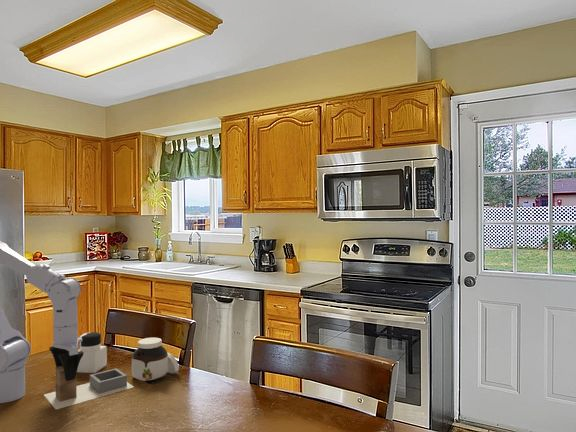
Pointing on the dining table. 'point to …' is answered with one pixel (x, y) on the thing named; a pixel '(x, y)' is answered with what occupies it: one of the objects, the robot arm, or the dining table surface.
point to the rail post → (64, 386)
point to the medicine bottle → (92, 353)
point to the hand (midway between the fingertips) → (66, 375)
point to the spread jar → (152, 361)
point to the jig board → (94, 388)
